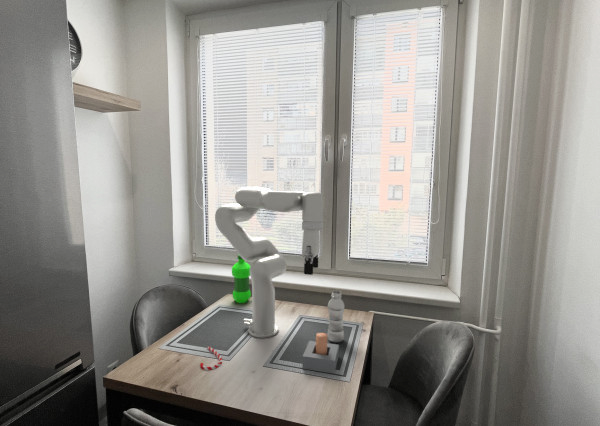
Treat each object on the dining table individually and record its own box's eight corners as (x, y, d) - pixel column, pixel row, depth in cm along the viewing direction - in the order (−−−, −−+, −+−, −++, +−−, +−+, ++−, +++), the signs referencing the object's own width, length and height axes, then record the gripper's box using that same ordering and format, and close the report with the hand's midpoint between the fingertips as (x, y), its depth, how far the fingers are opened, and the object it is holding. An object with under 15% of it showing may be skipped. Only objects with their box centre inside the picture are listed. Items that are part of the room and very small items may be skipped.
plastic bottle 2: (343, 345, 127) (344, 296, 125) (326, 343, 128) (327, 294, 126) (344, 337, 133) (345, 290, 131) (328, 336, 134) (329, 289, 132)
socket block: (302, 368, 111) (302, 356, 110) (309, 352, 121) (309, 340, 121) (334, 373, 108) (334, 360, 108) (338, 356, 119) (338, 344, 118)
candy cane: (217, 344, 125) (224, 364, 111) (217, 347, 125) (224, 368, 111) (196, 348, 122) (201, 369, 108) (196, 351, 122) (201, 373, 108)
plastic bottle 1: (234, 297, 177) (234, 252, 174) (253, 298, 176) (253, 253, 173) (229, 304, 167) (228, 256, 165) (249, 305, 166) (248, 257, 164)
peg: (314, 364, 113) (315, 337, 112) (316, 358, 117) (317, 332, 116) (325, 366, 112) (326, 338, 111) (327, 360, 116) (328, 333, 115)
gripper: (307, 222, 130) (306, 264, 131) (296, 228, 113) (295, 276, 114) (325, 223, 128) (325, 265, 129) (317, 229, 111) (316, 278, 113)
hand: (311, 270), depth 122 cm, fingers open, 9 cm apart
